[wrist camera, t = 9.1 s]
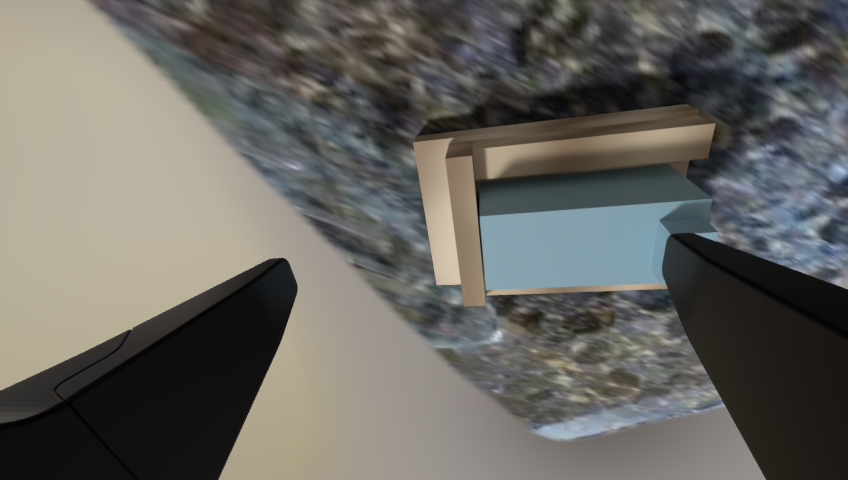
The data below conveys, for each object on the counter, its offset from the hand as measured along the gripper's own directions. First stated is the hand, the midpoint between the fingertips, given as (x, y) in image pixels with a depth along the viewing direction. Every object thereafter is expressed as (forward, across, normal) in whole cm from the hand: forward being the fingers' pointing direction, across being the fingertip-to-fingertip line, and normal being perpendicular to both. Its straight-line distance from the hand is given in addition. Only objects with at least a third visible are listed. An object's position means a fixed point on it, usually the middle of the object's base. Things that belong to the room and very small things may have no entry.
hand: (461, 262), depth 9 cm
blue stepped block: (+11, -5, +4) cm, 13 cm away
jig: (+12, -4, +4) cm, 14 cm away
